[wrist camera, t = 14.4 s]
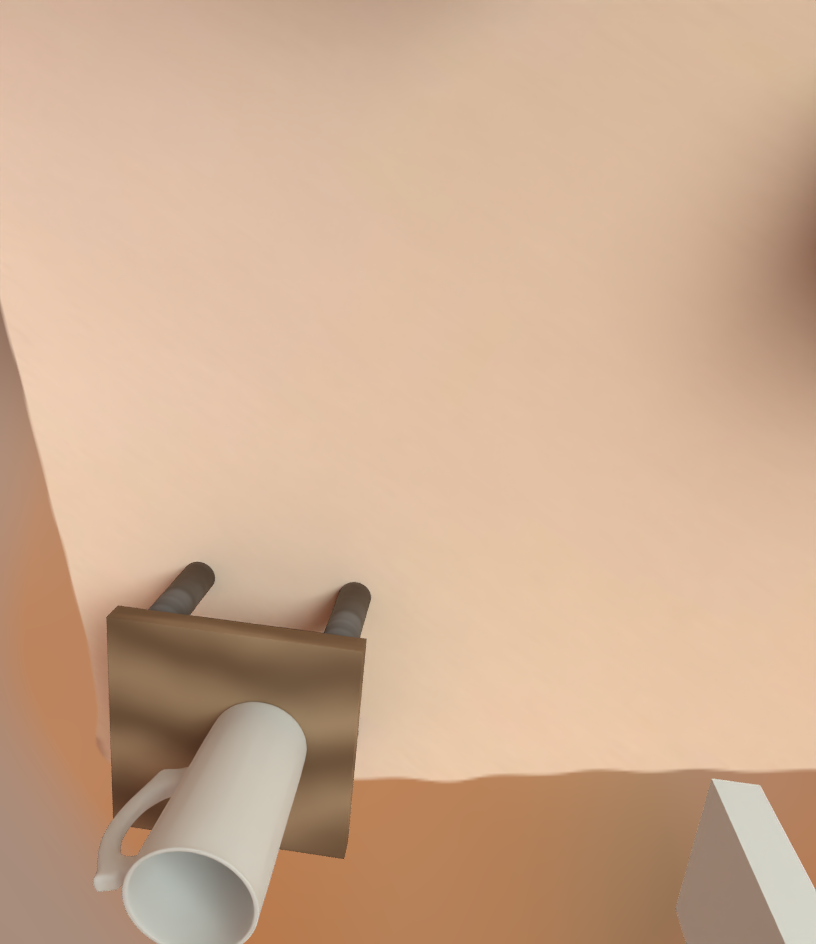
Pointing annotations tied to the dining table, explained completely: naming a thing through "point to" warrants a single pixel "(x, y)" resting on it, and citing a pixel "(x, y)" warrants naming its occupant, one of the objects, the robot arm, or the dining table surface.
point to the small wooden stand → (237, 698)
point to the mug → (210, 832)
